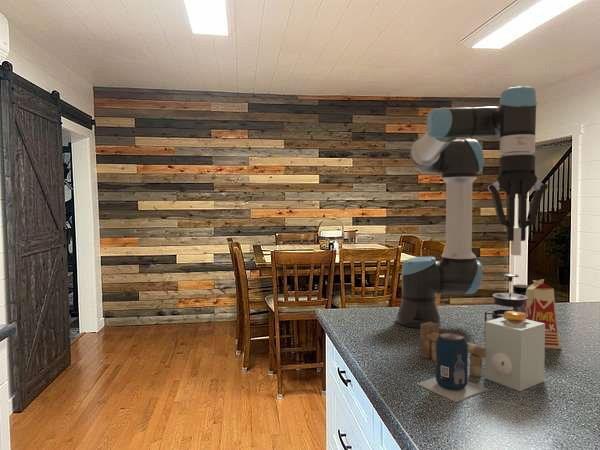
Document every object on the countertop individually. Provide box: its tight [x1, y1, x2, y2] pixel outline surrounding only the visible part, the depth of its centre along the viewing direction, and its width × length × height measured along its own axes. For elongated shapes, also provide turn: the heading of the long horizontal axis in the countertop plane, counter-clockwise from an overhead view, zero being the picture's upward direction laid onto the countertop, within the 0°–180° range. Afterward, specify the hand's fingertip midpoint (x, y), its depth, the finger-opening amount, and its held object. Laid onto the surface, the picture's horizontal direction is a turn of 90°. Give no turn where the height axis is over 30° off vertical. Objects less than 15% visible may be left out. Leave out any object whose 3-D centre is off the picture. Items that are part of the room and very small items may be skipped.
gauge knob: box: [503, 311, 526, 327], centre depth 104 cm, size 5×5×7 cm
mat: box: [416, 376, 488, 403], centre depth 101 cm, size 11×11×1 cm
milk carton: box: [523, 278, 563, 350], centre depth 131 cm, size 9×9×20 cm
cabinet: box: [484, 317, 546, 392], centre depth 104 cm, size 9×12×14 cm
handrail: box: [419, 322, 485, 378], centre depth 114 cm, size 20×4×9 cm, turn 32°
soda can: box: [435, 331, 469, 391], centre depth 100 cm, size 7×7×12 cm
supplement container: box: [512, 283, 531, 312], centre depth 167 cm, size 7×7×10 cm
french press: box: [483, 273, 528, 342], centre depth 120 cm, size 12×9×23 cm
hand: (515, 254), depth 103 cm, fingers closed
